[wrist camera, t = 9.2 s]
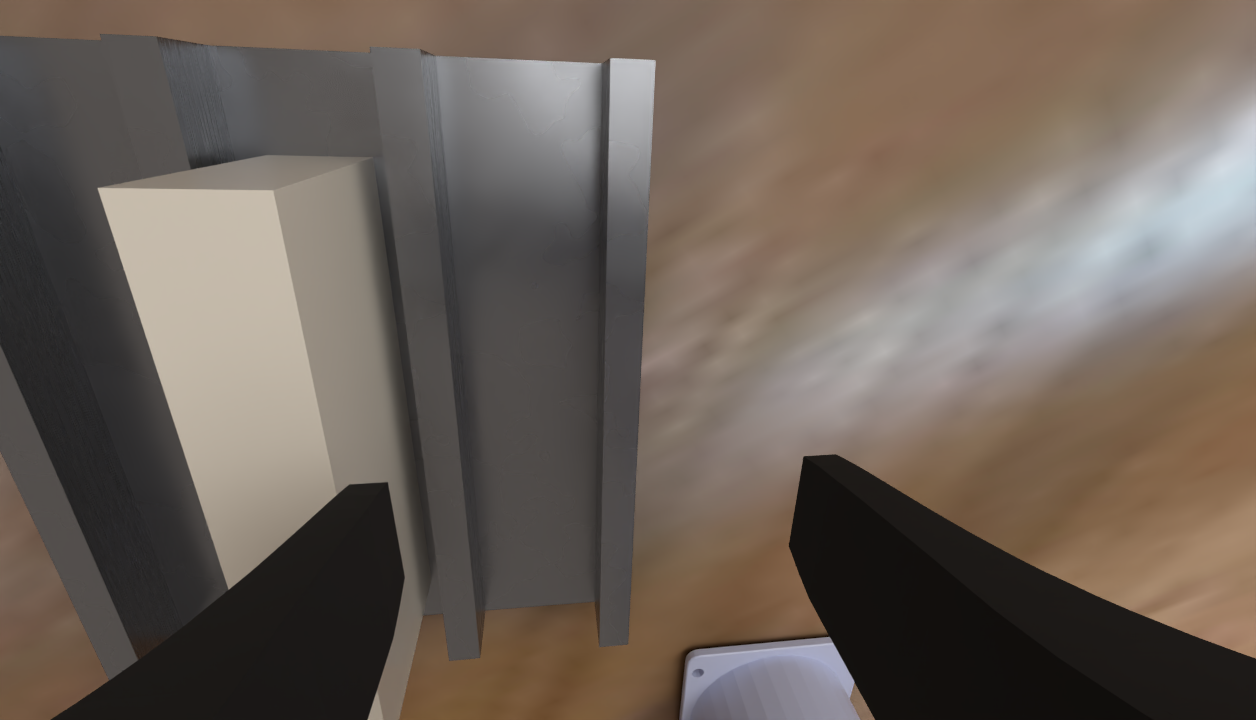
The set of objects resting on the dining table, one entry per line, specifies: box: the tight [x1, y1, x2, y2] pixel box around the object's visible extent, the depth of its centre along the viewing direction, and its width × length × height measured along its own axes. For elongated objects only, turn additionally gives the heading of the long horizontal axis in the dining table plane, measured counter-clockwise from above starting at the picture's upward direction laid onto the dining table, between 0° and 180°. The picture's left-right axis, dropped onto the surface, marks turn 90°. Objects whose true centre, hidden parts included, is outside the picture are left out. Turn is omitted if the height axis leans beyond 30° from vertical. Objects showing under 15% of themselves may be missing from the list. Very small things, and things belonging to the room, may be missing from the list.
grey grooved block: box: [0, 34, 656, 680], centre depth 17 cm, size 18×16×3 cm
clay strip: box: [98, 155, 431, 720], centre depth 15 cm, size 14×2×6 cm, turn 178°
